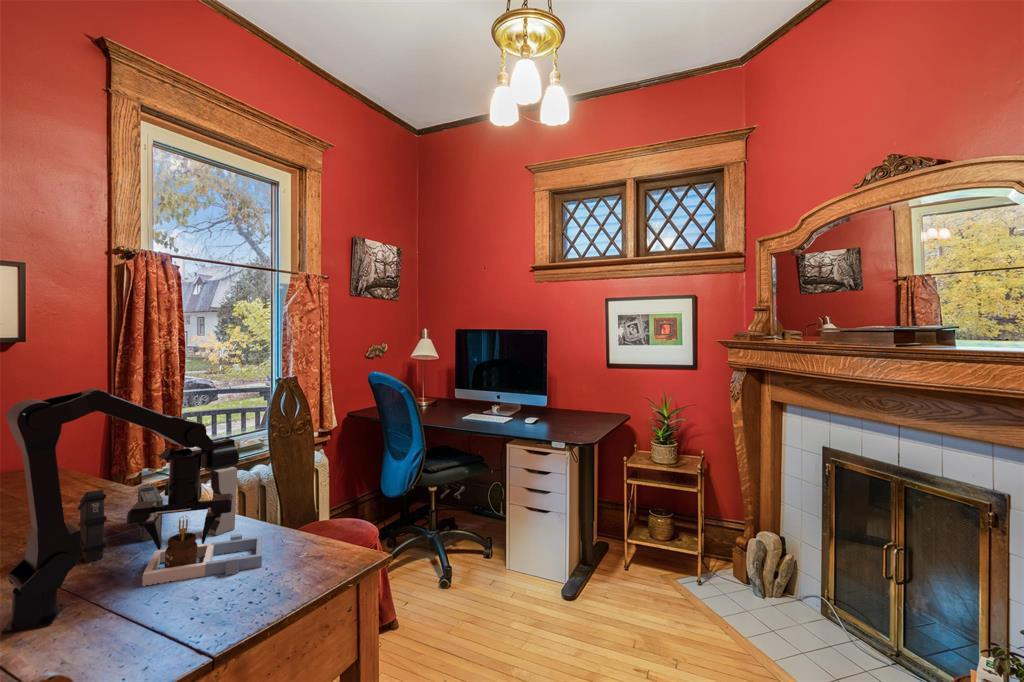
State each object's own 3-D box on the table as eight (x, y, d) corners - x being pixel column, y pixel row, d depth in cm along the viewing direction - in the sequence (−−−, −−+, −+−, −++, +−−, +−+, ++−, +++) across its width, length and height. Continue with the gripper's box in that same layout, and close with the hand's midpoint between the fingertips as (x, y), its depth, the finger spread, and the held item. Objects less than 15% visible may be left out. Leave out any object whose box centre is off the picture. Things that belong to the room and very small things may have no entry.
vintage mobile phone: (207, 532, 121) (211, 438, 121) (226, 526, 125) (230, 434, 125) (215, 536, 119) (220, 440, 119) (234, 529, 124) (239, 436, 124)
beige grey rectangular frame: (261, 569, 104) (261, 555, 104) (140, 589, 94) (141, 574, 94) (262, 543, 116) (262, 531, 116) (156, 559, 106) (156, 545, 106)
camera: (135, 521, 126) (137, 485, 126) (153, 518, 129) (155, 482, 129) (142, 542, 114) (143, 502, 114) (161, 538, 117) (163, 499, 117)
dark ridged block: (85, 561, 100) (84, 492, 105) (77, 567, 108) (76, 503, 113) (108, 556, 103) (106, 488, 108) (98, 562, 111) (97, 499, 115)
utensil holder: (196, 559, 107) (198, 508, 107) (197, 571, 102) (199, 517, 102) (164, 566, 103) (166, 512, 103) (164, 578, 98) (166, 522, 98)
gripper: (236, 463, 114) (233, 526, 114) (141, 470, 105) (138, 538, 105) (232, 476, 104) (229, 544, 104) (127, 484, 95) (124, 559, 95)
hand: (181, 546), depth 103 cm, fingers open, 8 cm apart
